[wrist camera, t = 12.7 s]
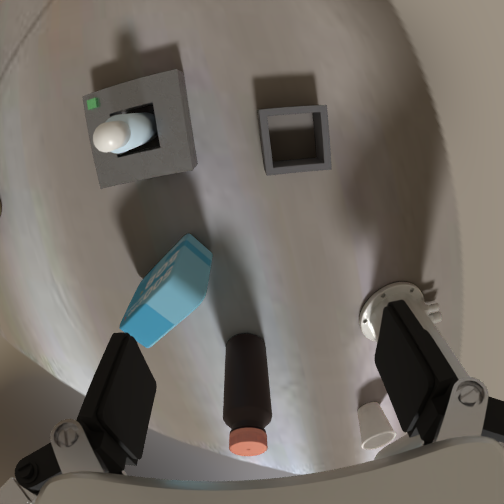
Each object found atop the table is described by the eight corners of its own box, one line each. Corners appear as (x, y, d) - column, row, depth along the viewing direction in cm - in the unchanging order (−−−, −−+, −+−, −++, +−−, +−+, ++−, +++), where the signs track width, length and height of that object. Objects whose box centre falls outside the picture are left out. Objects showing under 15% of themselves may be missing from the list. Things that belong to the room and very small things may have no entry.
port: (183, 72, 32) (175, 68, 28) (197, 164, 37) (191, 171, 33) (96, 96, 32) (80, 96, 28) (112, 180, 37) (98, 190, 33)
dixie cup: (345, 413, 63) (354, 447, 54) (373, 394, 60) (385, 429, 51) (363, 420, 65) (373, 451, 56) (390, 403, 63) (402, 435, 54)
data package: (190, 228, 41) (173, 274, 30) (214, 250, 43) (206, 300, 32) (140, 281, 44) (115, 332, 34) (162, 298, 46) (144, 352, 35)
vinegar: (222, 356, 52) (217, 456, 34) (230, 328, 49) (227, 435, 31) (259, 362, 53) (266, 460, 35) (270, 335, 50) (281, 439, 32)
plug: (157, 109, 34) (121, 111, 23) (162, 139, 35) (129, 153, 25) (127, 116, 34) (84, 122, 23) (133, 145, 35) (92, 163, 25)
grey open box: (318, 105, 34) (326, 105, 30) (322, 163, 37) (331, 169, 34) (257, 109, 34) (258, 109, 31) (264, 168, 38) (266, 175, 34)
